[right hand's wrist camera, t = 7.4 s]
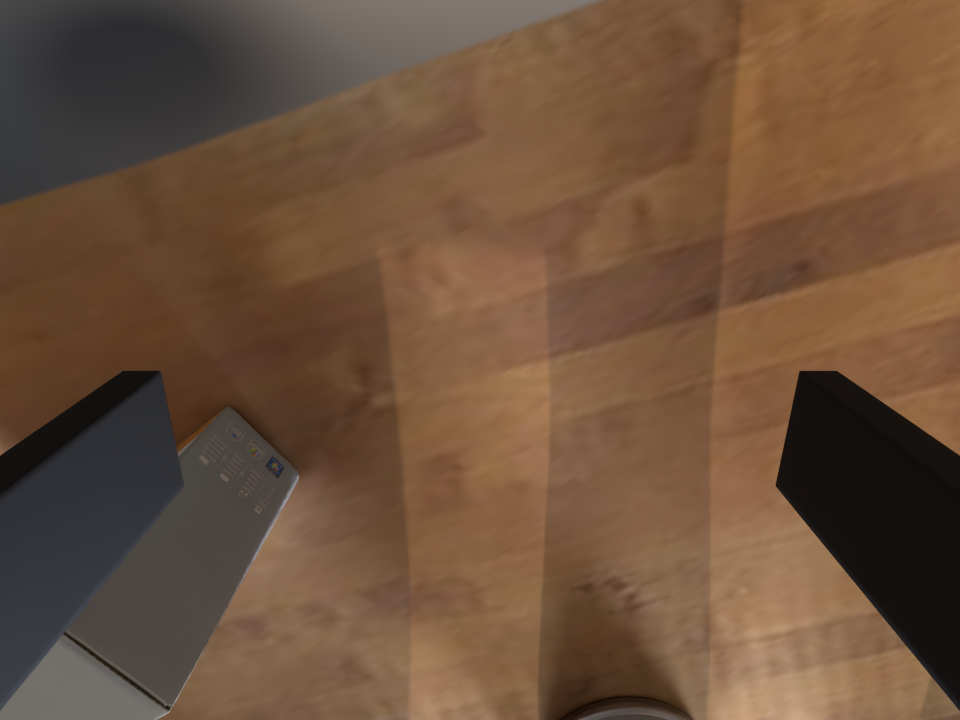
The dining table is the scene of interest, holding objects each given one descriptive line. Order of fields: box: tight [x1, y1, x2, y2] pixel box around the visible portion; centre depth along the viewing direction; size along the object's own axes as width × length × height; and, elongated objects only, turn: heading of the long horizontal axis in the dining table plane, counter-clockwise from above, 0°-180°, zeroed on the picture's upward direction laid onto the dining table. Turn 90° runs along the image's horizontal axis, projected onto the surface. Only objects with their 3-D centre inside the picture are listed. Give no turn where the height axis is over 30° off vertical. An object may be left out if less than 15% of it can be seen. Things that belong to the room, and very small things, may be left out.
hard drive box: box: [0, 407, 299, 720], centre depth 37 cm, size 16×8×20 cm, turn 128°
